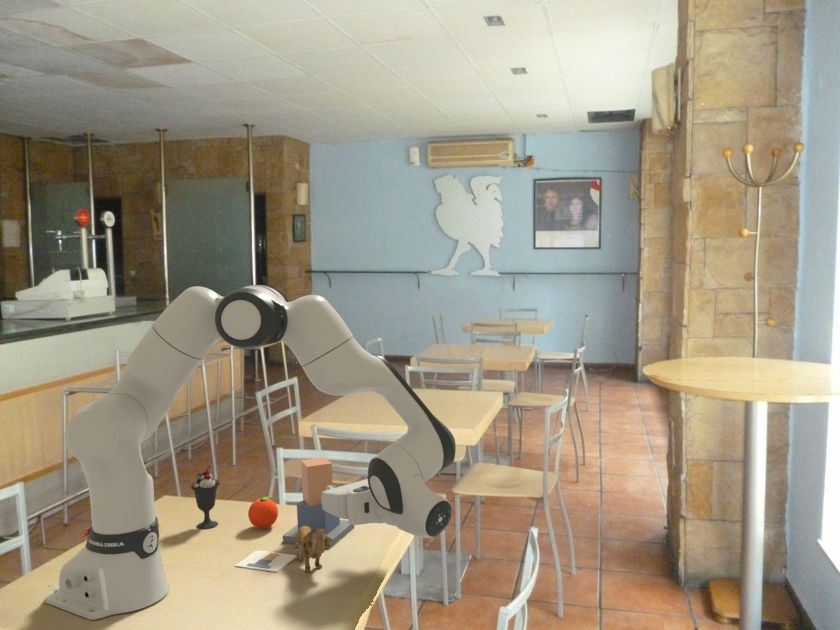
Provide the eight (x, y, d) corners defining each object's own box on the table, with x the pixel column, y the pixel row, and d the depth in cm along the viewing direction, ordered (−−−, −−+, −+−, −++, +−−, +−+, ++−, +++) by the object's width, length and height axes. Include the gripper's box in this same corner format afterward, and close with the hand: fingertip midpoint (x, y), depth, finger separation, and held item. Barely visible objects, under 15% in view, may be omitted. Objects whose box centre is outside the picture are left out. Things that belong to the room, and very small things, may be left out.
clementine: (260, 519, 173) (258, 491, 173) (285, 521, 172) (284, 492, 171) (243, 531, 166) (241, 502, 165) (270, 534, 164) (268, 504, 163)
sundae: (217, 530, 167) (214, 467, 166) (189, 530, 167) (185, 468, 166) (225, 519, 174) (222, 459, 173) (198, 520, 174) (194, 460, 173)
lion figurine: (336, 572, 143) (335, 529, 142) (312, 580, 140) (310, 535, 139) (306, 547, 155) (305, 507, 154) (283, 553, 152) (281, 512, 151)
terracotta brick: (308, 506, 158) (307, 466, 158) (302, 498, 163) (301, 460, 163) (333, 502, 160) (331, 463, 160) (326, 495, 166) (325, 457, 165)
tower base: (282, 541, 159) (281, 507, 158) (308, 522, 170) (307, 490, 170) (331, 547, 155) (329, 512, 154) (354, 527, 166) (353, 494, 166)
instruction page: (235, 566, 147) (235, 565, 147) (256, 551, 154) (256, 549, 154) (277, 572, 143) (277, 570, 143) (297, 556, 151) (297, 554, 151)
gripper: (425, 472, 148) (385, 459, 159) (344, 495, 135) (306, 479, 146) (426, 501, 149) (386, 486, 159) (346, 527, 136) (307, 509, 146)
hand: (347, 483), depth 152 cm, fingers open, 8 cm apart
